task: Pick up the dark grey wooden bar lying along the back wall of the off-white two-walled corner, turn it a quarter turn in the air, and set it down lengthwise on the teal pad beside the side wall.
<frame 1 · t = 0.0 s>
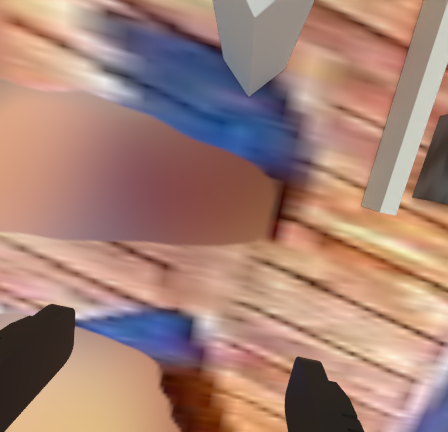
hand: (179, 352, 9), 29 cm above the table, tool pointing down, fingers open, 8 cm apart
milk: (254, 64, 33), on the table
bar: (443, 161, 34), on the table
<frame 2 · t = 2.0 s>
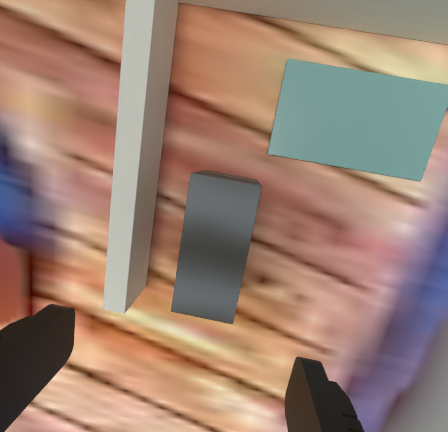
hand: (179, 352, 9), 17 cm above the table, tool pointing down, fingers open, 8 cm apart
bar: (221, 228, 25), on the table
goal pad: (354, 122, 22), on the table
arena: (304, 182, 23), on the table
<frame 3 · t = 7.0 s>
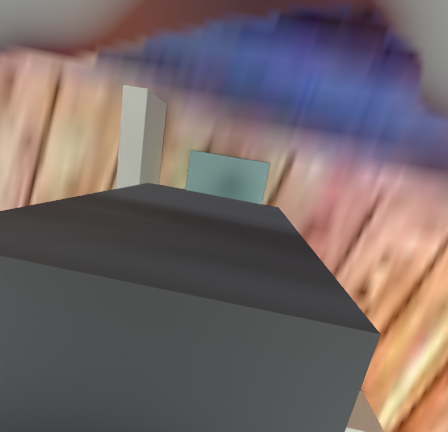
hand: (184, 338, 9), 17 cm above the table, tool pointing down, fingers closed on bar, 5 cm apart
bar: (191, 321, 10), point 16 cm above the table, touching gripper
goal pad: (219, 223, 26), on the table
arena: (269, 259, 27), on the table
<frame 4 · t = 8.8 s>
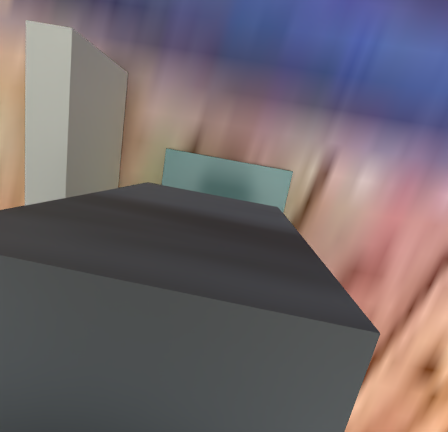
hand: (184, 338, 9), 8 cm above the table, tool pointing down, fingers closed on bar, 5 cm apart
bar: (190, 321, 10), point 7 cm above the table, touching gripper
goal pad: (210, 262, 17), on the table
arena: (286, 317, 17), on the table
when the fingers open (3 cm above the table, at t = 10.3 s): bar drops 1 cm, resting on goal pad.
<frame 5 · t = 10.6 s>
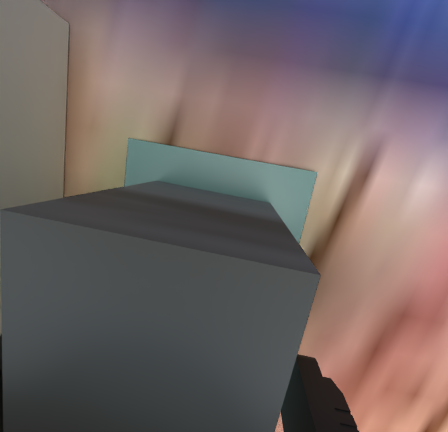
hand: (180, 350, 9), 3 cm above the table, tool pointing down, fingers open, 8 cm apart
bar: (193, 304, 12), resting on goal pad
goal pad: (197, 300, 12), on the table
arena: (304, 376, 12), on the table
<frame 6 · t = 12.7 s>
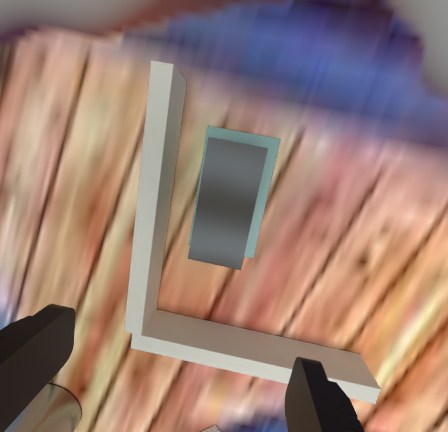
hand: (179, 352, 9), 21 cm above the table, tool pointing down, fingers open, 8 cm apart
bar: (230, 195, 28), resting on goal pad
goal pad: (231, 195, 28), on the table
arena: (277, 229, 29), on the table
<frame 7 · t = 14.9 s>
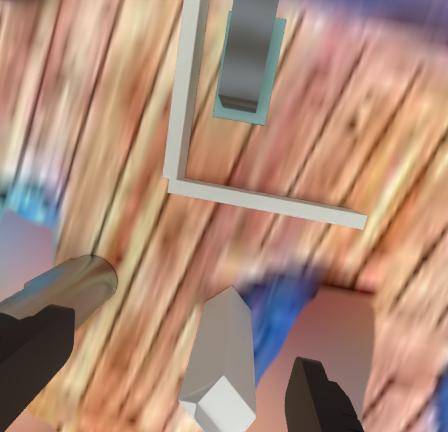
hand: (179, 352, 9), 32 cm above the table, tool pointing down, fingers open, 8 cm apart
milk: (228, 305, 44), on the table
bar: (246, 70, 35), resting on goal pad
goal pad: (247, 70, 36), on the table
arena: (283, 99, 36), on the table
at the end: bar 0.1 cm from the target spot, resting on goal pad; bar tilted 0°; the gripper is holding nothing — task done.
